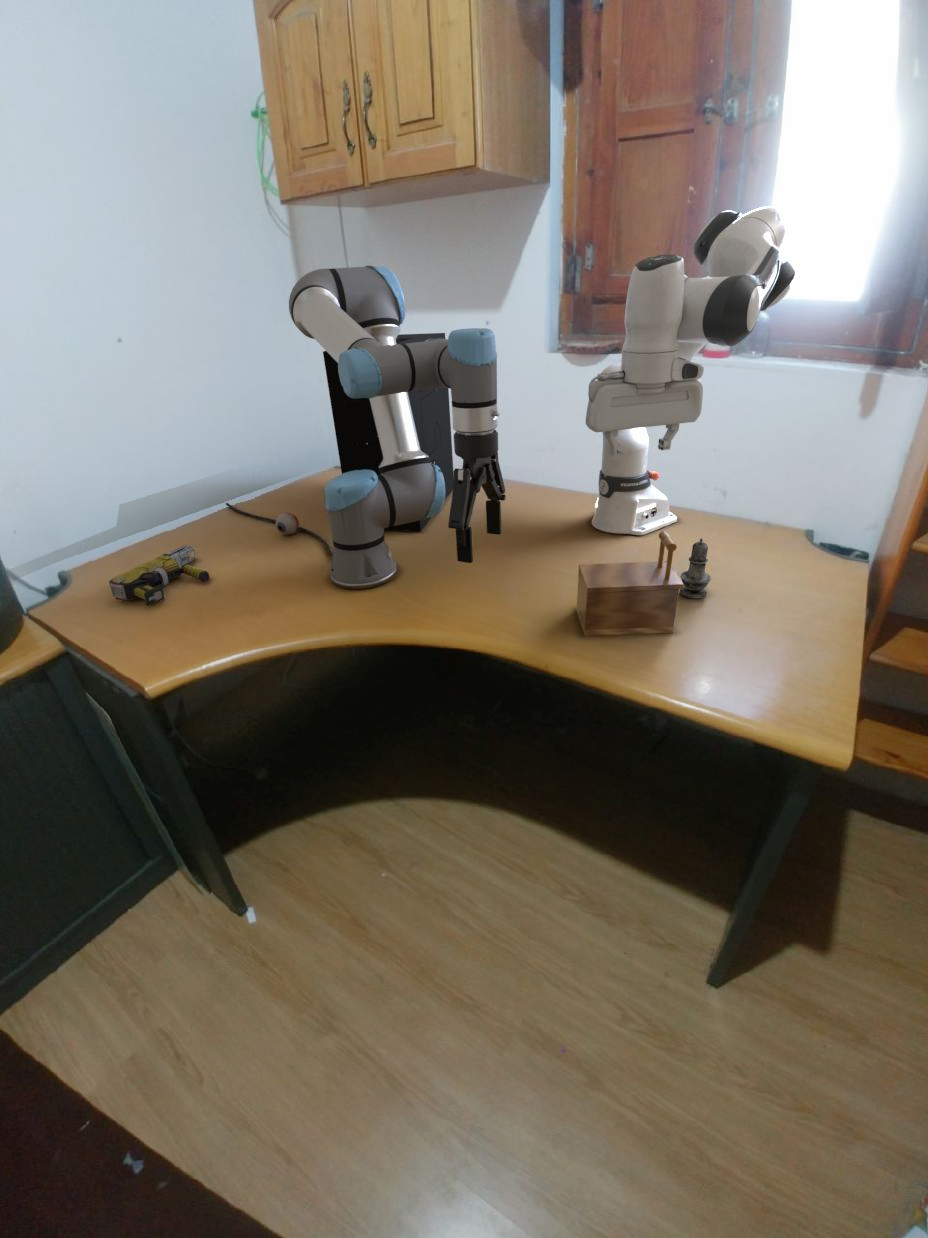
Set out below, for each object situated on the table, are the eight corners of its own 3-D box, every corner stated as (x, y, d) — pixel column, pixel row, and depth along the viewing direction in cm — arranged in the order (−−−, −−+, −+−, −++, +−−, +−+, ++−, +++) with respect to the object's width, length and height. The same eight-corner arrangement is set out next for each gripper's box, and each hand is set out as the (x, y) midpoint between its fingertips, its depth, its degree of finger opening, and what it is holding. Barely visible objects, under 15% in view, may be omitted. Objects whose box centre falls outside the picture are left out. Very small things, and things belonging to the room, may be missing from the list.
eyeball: (273, 537, 164) (268, 516, 161) (287, 528, 169) (282, 508, 166) (291, 539, 161) (286, 518, 158) (305, 530, 166) (301, 510, 163)
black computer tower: (420, 531, 161) (403, 349, 139) (350, 528, 166) (322, 351, 143) (454, 487, 193) (445, 332, 170) (394, 486, 197) (377, 335, 175)
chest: (658, 606, 121) (663, 565, 116) (673, 632, 112) (679, 589, 107) (576, 609, 121) (578, 569, 117) (584, 635, 112) (587, 593, 108)
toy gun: (232, 553, 147) (182, 542, 151) (158, 593, 127) (102, 580, 131) (234, 570, 150) (185, 559, 154) (162, 613, 130) (107, 599, 134)
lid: (667, 565, 116) (672, 526, 112) (683, 589, 107) (689, 547, 103) (578, 568, 117) (580, 530, 113) (587, 592, 108) (589, 551, 104)
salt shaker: (710, 599, 121) (719, 544, 115) (679, 598, 123) (687, 543, 117) (706, 586, 126) (715, 532, 120) (676, 585, 128) (684, 532, 122)
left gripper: (465, 450, 90) (471, 577, 101) (521, 415, 110) (522, 525, 120) (421, 447, 93) (431, 571, 104) (483, 414, 113) (487, 521, 123)
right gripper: (597, 376, 96) (592, 463, 103) (713, 366, 100) (700, 450, 106) (581, 371, 101) (578, 454, 108) (692, 361, 105) (681, 442, 112)
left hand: (480, 547), depth 112 cm, fingers open, 13 cm apart
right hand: (639, 452), depth 107 cm, fingers open, 8 cm apart
